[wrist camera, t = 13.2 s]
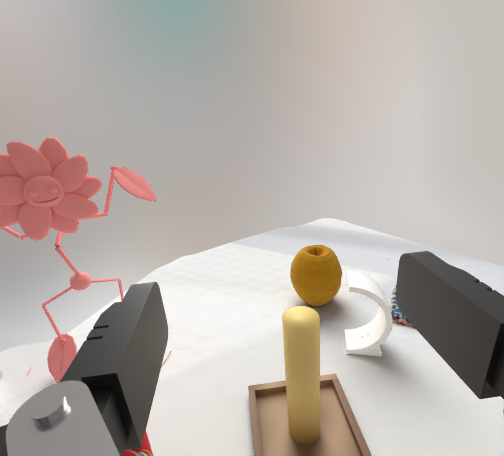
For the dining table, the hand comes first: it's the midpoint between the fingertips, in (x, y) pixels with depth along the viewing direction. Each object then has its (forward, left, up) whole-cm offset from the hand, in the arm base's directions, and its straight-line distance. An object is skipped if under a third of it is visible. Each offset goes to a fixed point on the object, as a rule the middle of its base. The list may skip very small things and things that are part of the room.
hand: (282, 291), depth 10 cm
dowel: (+4, +15, -29) cm, 33 cm away
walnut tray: (+4, +15, -30) cm, 34 cm away
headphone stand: (+17, +27, -30) cm, 44 cm away
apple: (+13, +40, -30) cm, 52 cm away
